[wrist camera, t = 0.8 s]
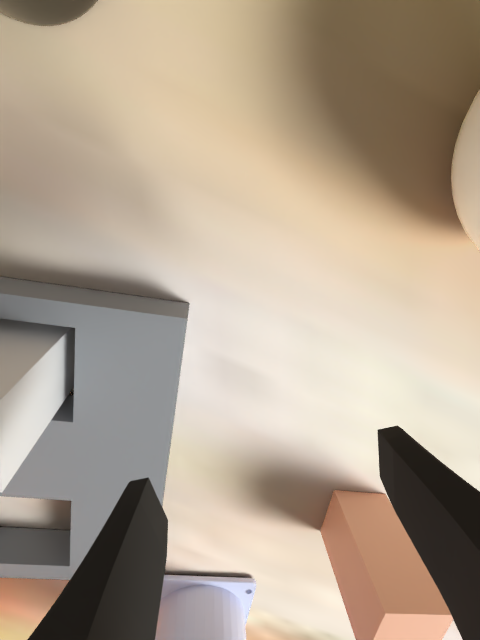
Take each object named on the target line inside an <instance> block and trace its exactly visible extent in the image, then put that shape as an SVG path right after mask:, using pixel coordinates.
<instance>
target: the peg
mask: <svg viewBox="0 0 480 640" xmlns="http://www.w3.org/2000/svg"><path fill="white" fill-rule="evenodd" d="M320 531H321V535H322V538H323V541H324V544H325V547H326V550H327V553H328V556H329V559H330V562H331V565H332V568H333V571H334V574H335V577H336V580H337V583H338V586H339V590H340V593H341V596H342V599H343V602H344V605H345V608H346V611H347V614H348V617H349V620H350V623H351V626H352V629H353V632H354V635H355V638H356V640H442V638H443V637H444V635H445V633H446V631H447V630H448V628H449V626H450V624H451V622H452V621H453V617H452V615H451V613H450V611H449V609H448V607H447V605H446V603H445V601H444V599H443V597H442V595H441V593H440V591H439V589H438V588H437V586H436V584H435V582H434V580H433V579H432V577H431V575H430V573H429V572H428V570H427V568H426V566H425V564H424V563H423V561H422V559H421V557H420V556H419V554H418V552H417V550H416V548H415V547H414V545H413V543H412V541H411V539H410V538H409V536H408V534H407V532H406V530H405V529H404V527H403V525H402V523H401V521H400V520H399V518H398V516H397V514H396V512H395V510H394V508H393V506H392V505H391V503H390V501H389V499H388V498H387V496H386V494H379V493H366V492H352V491H339V490H334V492H333V495H332V498H331V501H330V504H329V507H328V510H327V513H326V516H325V519H324V522H323V525H322V528H321V530H320Z"/></svg>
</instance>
